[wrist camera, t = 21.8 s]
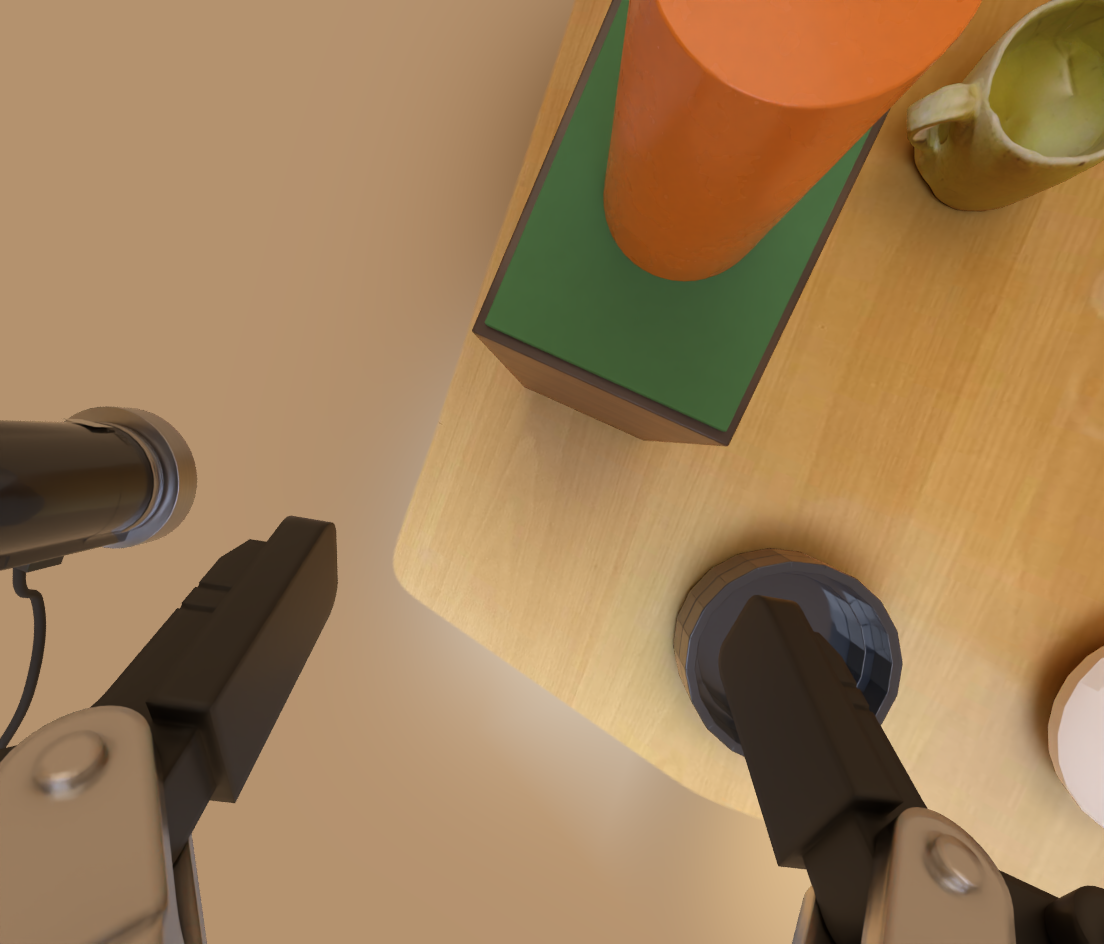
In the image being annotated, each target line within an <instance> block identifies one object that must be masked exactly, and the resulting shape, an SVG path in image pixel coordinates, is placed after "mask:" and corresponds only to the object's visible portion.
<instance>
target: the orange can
mask: <svg viewBox="0 0 1104 944" xmlns="http://www.w3.org/2000/svg"><path fill="white" fill-rule="evenodd" d="M981 2H982V0H629V7H628V14H627V21H626V28H625V36H624V43H623V50H622V58H621V65H620V72H619V80H618V87H617V94H616V102H615V109H614V116H613V124H612V131H611V138H610V146H609V153H608V160H607V168H606V175H605V182H604V192H603V201H604V211H605V217H606V221H607V224H608V227H609V230H610V232H611V234H612V236H613V238H614V240H615V242H616V243H617V245H618V247H619V248H620V249H621V250H622V252H623V253H624V254H625V255H626V256H627V257H628V258H629V259H630V260H631V261H632V262H633V263H634V264H636V265H637V266H638V267H640V268H641V269H643V270H645V271H647V272H648V273H650V274H652V275H655V276H658V277H660V278H664V279H668V280H674V281H696V280H701V279H706V278H709V277H712V276H715V275H718V274H720V273H722V272H724V271H726V270H728V269H729V268H731V267H732V266H734V265H735V264H737V263H738V262H739V261H740V260H741V259H743V258H744V257H745V256H746V255H747V254H748V253H749V252H750V251H751V250H752V249H753V248H754V247H755V246H756V245H757V244H758V243H759V241H760V240H761V239H762V238H763V237H764V236H765V235H766V234H767V233H768V232H769V231H770V230H771V229H772V228H773V227H774V226H775V225H776V224H777V223H778V222H779V221H780V220H781V219H782V218H783V217H784V216H785V215H786V214H787V213H788V212H789V211H790V210H791V209H792V208H793V207H794V206H795V205H796V204H797V203H798V202H799V201H800V200H801V199H802V198H803V197H804V195H805V194H806V193H807V192H808V191H809V190H810V189H811V188H812V187H813V186H814V185H815V184H816V183H817V182H818V181H819V180H820V179H821V178H822V177H823V176H824V175H825V174H826V173H827V172H828V171H829V170H830V169H831V168H832V167H833V166H834V165H835V164H836V163H837V162H838V161H839V160H840V159H841V158H842V157H843V156H844V155H845V154H846V153H847V152H848V151H849V150H850V148H851V147H852V146H853V145H854V144H855V143H856V142H857V141H858V140H859V139H860V138H861V137H862V136H863V135H864V134H865V133H866V132H867V131H868V130H869V129H870V128H871V127H872V126H873V125H874V124H875V123H876V122H877V121H878V120H879V119H880V118H881V117H882V116H883V115H884V114H885V113H886V112H887V111H888V110H889V109H890V108H891V107H892V106H893V105H894V104H895V102H896V101H897V100H898V99H899V98H900V97H901V96H902V95H903V94H904V93H905V92H906V91H907V90H908V89H909V88H910V87H911V86H912V85H913V84H914V83H915V82H916V81H917V80H918V79H919V78H920V77H921V76H922V75H923V74H924V73H925V72H926V71H927V70H928V69H929V68H930V67H931V66H932V65H933V64H934V63H935V62H936V61H937V60H938V59H939V58H940V57H941V55H942V54H943V53H944V52H945V51H946V50H947V49H948V48H949V47H950V46H951V45H952V44H953V43H954V42H955V40H956V39H957V38H958V37H959V36H960V34H961V33H962V32H963V30H964V29H965V28H966V26H967V25H968V23H969V22H970V21H971V19H972V18H973V16H974V15H975V13H976V11H977V9H978V8H979V6H980V4H981Z"/></svg>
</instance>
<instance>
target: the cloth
mask: <svg viewBox="0 0 1104 944" xmlns="http://www.w3.org/2000/svg"><path fill="white" fill-rule="evenodd" d="M628 7H629V0H622V1H621V3H620V6H619V8H618V10H617V13H616V15H615V18H614V20H613V22H612V25H611V27H610V29H609V32H608V34H607V36H606V39H605V41H604V43H603V46H602V48H601V50H600V53H599V55H598V57H597V60H596V62H595V64H594V67H593V69H592V71H591V74H590V76H589V78H588V81H587V83H586V86H585V88H584V90H583V93H582V95H581V97H580V100H579V102H578V104H577V107H576V109H575V111H574V114H573V116H572V118H571V121H570V123H569V125H568V128H567V130H566V132H565V135H564V137H563V139H562V142H561V144H560V146H559V149H558V151H557V153H556V156H555V158H554V161H553V163H552V165H551V168H550V170H549V172H548V175H547V177H546V179H545V182H544V184H543V186H542V189H541V191H540V193H539V196H538V198H537V200H536V203H535V205H534V207H533V210H532V212H531V214H530V217H529V219H528V221H527V224H526V226H525V229H524V231H523V233H522V236H521V238H520V240H519V243H518V245H517V247H516V250H515V252H514V254H513V257H512V259H511V261H510V264H509V266H508V268H507V271H506V273H505V275H504V278H503V280H502V282H501V285H500V287H499V289H498V292H497V294H496V297H495V299H494V301H493V304H492V306H491V308H490V311H489V313H488V315H487V318H486V320H485V324H486V325H487V326H489V327H491V328H493V329H495V330H498V331H500V332H502V333H504V334H507V335H509V336H511V337H513V338H515V339H518V340H520V341H522V342H524V343H527V344H529V345H531V346H533V347H535V348H538V349H540V350H542V351H544V352H547V353H549V354H551V355H553V356H555V357H558V358H560V359H562V360H564V361H567V362H569V363H571V364H573V365H575V366H578V367H580V368H582V369H584V370H587V371H589V372H591V373H593V374H595V375H598V376H600V377H602V378H604V379H607V380H609V381H611V382H613V383H615V384H618V385H620V386H622V387H624V388H627V389H629V390H631V391H633V392H635V393H638V394H640V395H642V396H644V397H647V398H649V399H651V400H653V401H655V402H658V403H660V404H662V405H664V406H667V407H669V408H671V409H673V410H675V411H678V412H680V413H682V414H684V415H687V416H689V417H691V418H693V419H695V420H698V421H700V422H702V423H704V424H707V425H709V426H711V427H713V428H715V429H718V430H720V431H722V432H726V431H727V429H728V427H729V425H730V423H731V421H732V419H733V417H734V415H735V413H736V410H737V408H738V406H739V404H740V402H741V400H742V398H743V396H744V394H745V392H746V390H747V387H748V385H749V383H750V381H751V379H752V377H753V375H754V373H755V371H756V369H757V367H758V364H759V362H760V360H761V358H762V356H763V354H764V352H765V350H766V348H767V346H768V344H769V341H770V339H771V337H772V335H773V333H774V331H775V329H776V327H777V325H778V323H779V321H780V318H781V316H782V314H783V312H784V310H785V308H786V306H787V304H788V302H789V300H790V298H791V296H792V293H793V291H794V289H795V287H796V285H797V283H798V281H799V279H800V277H801V275H802V273H803V270H804V268H805V266H806V264H807V262H808V260H809V258H810V256H811V254H812V252H813V250H814V247H815V245H816V243H817V241H818V239H819V237H820V235H821V233H822V231H823V229H824V227H825V224H826V222H827V220H828V218H829V216H830V214H831V212H832V210H833V208H834V206H835V204H836V201H837V199H838V197H839V195H840V193H841V191H842V189H843V187H844V185H845V183H846V181H847V178H848V176H849V174H850V172H851V170H852V168H853V166H854V164H855V162H856V160H857V158H858V155H859V153H860V151H861V149H862V147H863V145H864V143H865V141H866V139H867V137H868V135H869V132H870V130H871V128H872V127H871V128H870V129H869V130H868V131H867V132H866V133H865V134H864V135H863V136H862V137H861V138H860V139H859V140H858V141H857V142H856V143H855V144H854V145H853V146H852V147H851V148H850V150H849V151H848V152H847V153H846V154H845V155H844V156H843V157H842V158H841V159H840V160H839V161H838V162H837V163H836V164H835V165H834V166H833V167H832V168H831V169H830V170H829V171H828V172H827V173H826V174H825V175H824V176H823V177H822V178H821V179H820V180H819V181H818V182H817V183H816V184H815V185H814V186H813V187H812V188H811V189H810V190H809V191H808V192H807V193H806V194H805V195H804V197H803V198H802V199H801V200H800V201H799V202H798V203H797V204H796V205H795V206H794V207H793V208H792V209H791V210H790V211H789V212H788V213H787V214H786V215H785V216H784V217H783V218H782V219H781V220H780V221H779V222H778V223H777V224H776V225H775V226H774V227H773V228H772V229H771V230H770V231H769V232H768V233H767V234H766V235H765V236H764V237H763V238H762V239H761V240H760V241H759V243H758V244H757V245H756V246H755V247H754V248H753V249H752V250H751V251H750V252H749V253H748V254H747V255H746V256H745V257H744V258H743V259H741V260H740V261H739V262H738V263H737V264H735V265H734V266H732V267H731V268H729V269H728V270H726V271H724V272H722V273H720V274H718V275H715V276H712V277H709V278H706V279H701V280H696V281H674V280H668V279H664V278H660V277H658V276H655V275H652V274H650V273H648V272H647V271H645V270H643V269H641V268H640V267H638V266H637V265H636V264H634V263H633V262H632V261H631V260H630V259H629V258H628V257H627V256H626V255H625V254H624V253H623V252H622V250H621V249H620V248H619V247H618V245H617V243H616V242H615V240H614V238H613V236H612V234H611V232H610V230H609V227H608V224H607V221H606V217H605V211H604V201H603V192H604V182H605V175H606V168H607V160H608V153H609V146H610V138H611V131H612V124H613V116H614V109H615V102H616V94H617V87H618V80H619V72H620V65H621V58H622V50H623V43H624V36H625V28H626V21H627V14H628Z"/></svg>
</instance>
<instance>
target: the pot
mask: <svg viewBox="0 0 1104 944" xmlns="http://www.w3.org/2000/svg"><path fill="white" fill-rule="evenodd" d="M753 595H761V596H767V597H773V598H779V599H785V600H791V601H794V602H796V603H797V604H798V605H799V606H800V607H801V609H802V611H803V612H804V614H805V616H806V618H807V620H808V622H809V624H810V626H811V627H812V629H813V631H814V632H819V633H820V634H821V635H822V636H823V637H824V638H825V639H826V640H827V641H828V643H829V644H830V645H831V646H832V647H833V648H834V649H835V650H836V651H837V652H838V653H839V654H840V655H841V656H842V658H843V660H844V662H845V663H846V665H847V667H848V669H849V670H850V672H851V674H852V676H853V678H854V679H855V681H856V683H857V684H856V687H857V689H860V690H861V692H862V694H863V695H864V697H865V699H866V701H867V703H868V704H869V711H870V712H873V713H874V715H875V717H876V719H877V720H878V722H879V724H880V726H881V724H882V723H883V721H884V719H885V717H886V715H887V714H888V712H889V710H890V708H891V706H892V704H893V702H894V700H895V699H896V697H897V694H898V688H899V682H900V676H901V670H902V664H903V662H902V656H901V650H900V644H899V638H898V632H897V630H896V628H895V626H894V624H893V622H892V620H891V619H890V617H889V615H888V613H887V611H886V609H885V608H884V606H883V604H882V602H881V601H880V600H879V599H878V598H877V597H876V596H875V595H874V594H873V593H871V592H870V591H869V590H868V589H867V588H866V587H865V586H864V585H863V584H862V583H861V582H859V581H858V580H857V579H855V578H854V577H852V576H850V575H848V574H846V573H844V572H842V571H840V570H838V569H836V568H834V567H832V566H830V565H828V564H826V563H824V562H821V561H819V560H817V559H815V558H812V557H810V556H808V555H806V554H804V553H801V552H798V551H789V550H780V549H771V548H770V549H769V548H767V549H762V550H757V551H751V552H746V553H741V554H737V555H735V556H734V557H732V558H730V559H728V560H726V561H724V562H722V563H721V564H719V565H717V566H715V567H713V568H712V569H710V570H709V571H708V572H707V573H706V574H705V575H704V576H703V578H702V579H701V580H700V581H699V582H698V583H697V584H696V585H695V586H694V587H693V588H692V589H691V590H690V592H689V594H688V596H687V598H686V600H685V602H684V604H683V606H682V608H681V610H680V612H679V615H678V617H677V622H676V630H675V637H674V645H673V647H674V652H675V657H676V662H677V667H678V672H679V676H680V678H681V680H682V682H683V684H684V687H685V689H686V691H687V693H688V695H689V698H690V700H691V702H692V704H693V705H694V707H695V709H696V711H697V712H698V714H699V716H700V718H701V719H702V721H703V723H704V725H705V726H706V728H707V729H708V730H709V731H710V732H711V733H712V734H713V735H715V736H716V737H717V738H718V739H719V740H720V741H721V742H722V743H723V744H725V745H726V746H727V747H728V748H729V749H730V750H732V751H733V752H735V753H738V754H740V755H742V756H744V753H743V749H742V746H741V743H740V740H739V736H738V733H737V730H736V727H735V723H734V720H733V717H732V714H731V710H730V707H729V704H728V701H727V697H726V694H725V691H724V687H723V684H722V681H721V678H720V674H719V666H718V660H719V652H720V648H721V645H722V643H723V641H724V639H725V638H726V636H727V634H728V633H729V631H730V629H731V628H732V626H733V624H734V623H735V621H736V619H737V618H738V616H739V614H740V613H741V611H742V609H743V608H744V606H745V604H746V603H747V601H748V600H749V598H751V597H752V596H753ZM744 757H745V756H744Z"/></svg>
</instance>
